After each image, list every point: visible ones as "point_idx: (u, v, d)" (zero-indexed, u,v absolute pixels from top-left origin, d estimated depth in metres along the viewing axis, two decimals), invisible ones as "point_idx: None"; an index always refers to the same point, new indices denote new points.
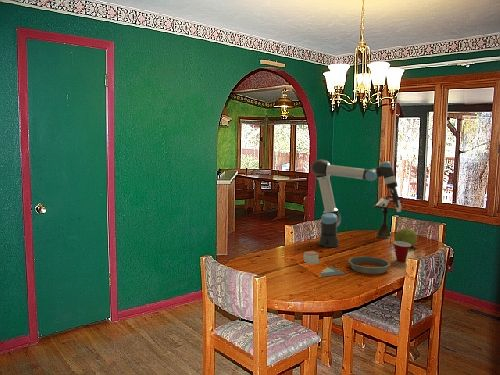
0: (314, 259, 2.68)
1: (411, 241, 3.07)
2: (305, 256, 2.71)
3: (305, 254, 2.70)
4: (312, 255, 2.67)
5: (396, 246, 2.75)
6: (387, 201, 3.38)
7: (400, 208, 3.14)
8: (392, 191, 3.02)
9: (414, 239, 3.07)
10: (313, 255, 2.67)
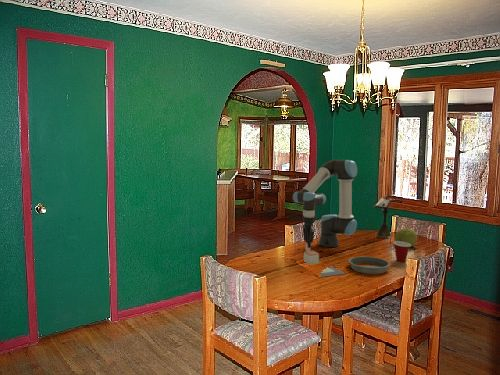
0: (314, 259, 2.67)
1: (411, 241, 3.07)
2: (305, 256, 2.70)
3: (305, 254, 2.70)
4: (312, 255, 2.66)
5: (396, 246, 2.75)
6: (387, 201, 3.38)
7: None
8: None
9: (414, 239, 3.07)
10: (314, 255, 2.67)
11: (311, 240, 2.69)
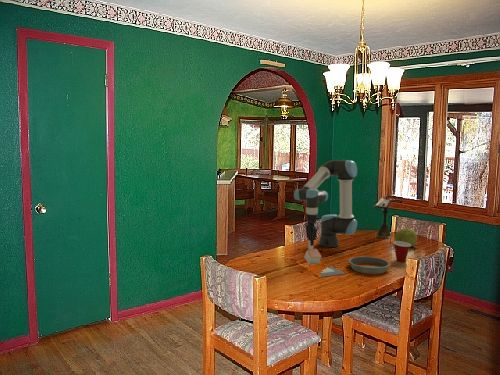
0: (315, 261, 2.66)
1: (411, 241, 3.07)
2: (307, 255, 2.68)
3: (308, 253, 2.67)
4: (315, 258, 2.64)
5: (396, 246, 2.75)
6: (387, 201, 3.38)
7: None
8: None
9: (414, 239, 3.07)
10: (316, 258, 2.64)
11: (314, 238, 2.66)
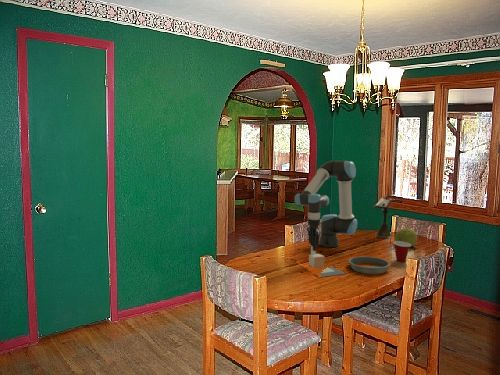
0: None
1: (411, 241, 3.07)
2: (312, 259, 2.62)
3: (313, 260, 2.61)
4: None
5: (396, 246, 2.75)
6: (387, 201, 3.38)
7: None
8: None
9: (414, 239, 3.07)
10: None
11: (316, 243, 2.63)
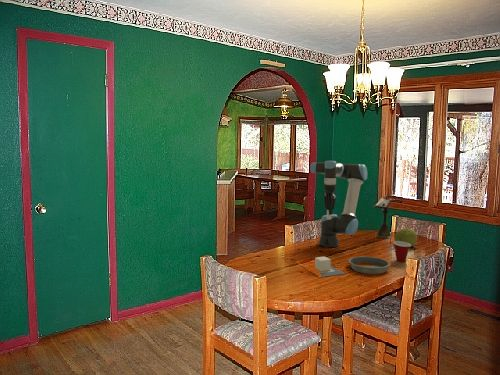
0: None
1: (411, 241, 3.07)
2: (318, 266, 2.55)
3: (318, 269, 2.56)
4: None
5: (396, 246, 2.75)
6: (387, 201, 3.38)
7: None
8: None
9: (414, 239, 3.07)
10: None
11: (332, 207, 2.77)
